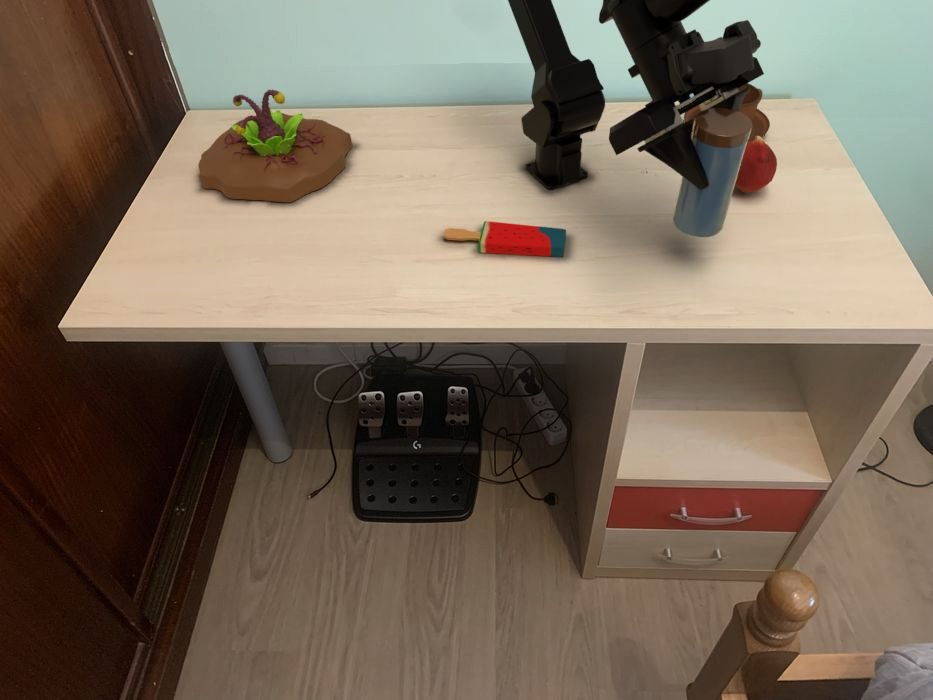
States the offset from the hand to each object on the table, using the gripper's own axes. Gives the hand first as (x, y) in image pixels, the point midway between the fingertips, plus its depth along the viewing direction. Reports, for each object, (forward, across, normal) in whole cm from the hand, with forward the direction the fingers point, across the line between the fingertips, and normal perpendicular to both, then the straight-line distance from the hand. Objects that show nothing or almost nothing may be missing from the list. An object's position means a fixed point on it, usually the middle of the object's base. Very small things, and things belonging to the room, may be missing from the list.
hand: (721, 177), depth 77 cm
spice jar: (+4, 0, +6) cm, 7 cm away
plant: (-29, -24, +48) cm, 61 cm away
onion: (+5, +18, +13) cm, 22 cm away
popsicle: (-4, -13, +23) cm, 27 cm away
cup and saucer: (-2, +28, +21) cm, 35 cm away
